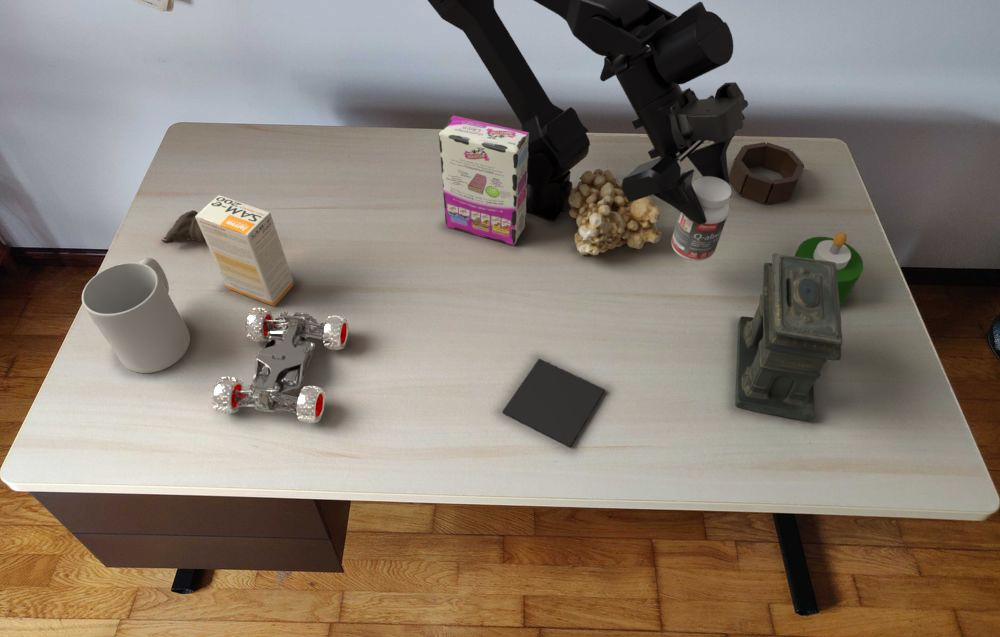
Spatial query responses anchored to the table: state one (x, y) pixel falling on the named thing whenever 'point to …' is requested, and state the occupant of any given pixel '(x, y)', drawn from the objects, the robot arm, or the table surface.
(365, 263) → the table surface
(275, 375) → the toy car
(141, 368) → the mug
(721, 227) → the pill bottle
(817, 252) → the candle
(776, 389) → the model
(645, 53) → the robot arm
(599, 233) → the mineral formation
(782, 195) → the holder ring
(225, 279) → the supplement box
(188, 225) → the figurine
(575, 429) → the rubber mat
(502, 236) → the candy bar box
